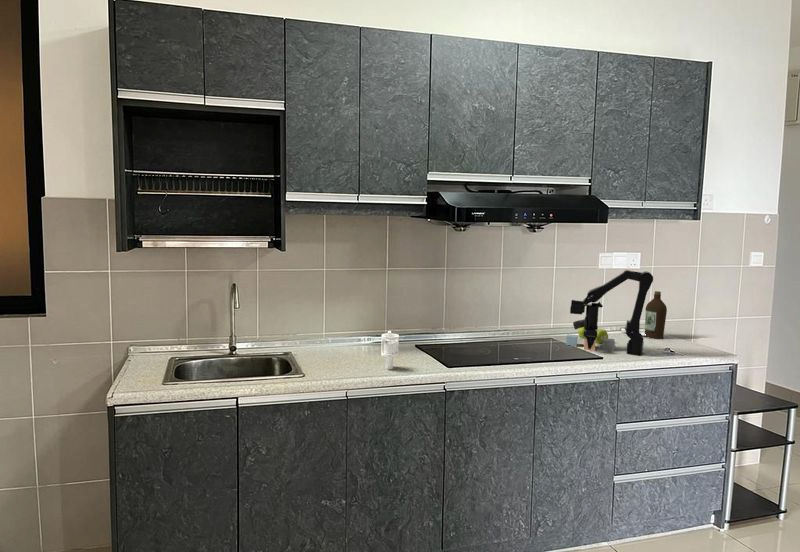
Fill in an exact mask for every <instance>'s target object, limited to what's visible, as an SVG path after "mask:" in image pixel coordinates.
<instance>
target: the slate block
mask: <svg viewBox="0 0 800 552" xmlns="http://www.w3.org/2000/svg"><path fill="white" fill-rule="evenodd" d="M578 336H579V334H570V333H569V334H568V333H567V334H566V339H565V340H566V341H565V346H566V345H572V346H571V347H573V346H576V347H575V348H577V346H578Z"/></svg>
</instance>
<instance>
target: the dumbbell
mask: <svg viewBox="0 0 800 552" xmlns="http://www.w3.org/2000/svg"><path fill="white" fill-rule="evenodd" d="M584 330H585V328H584V327H582V328H578V329H577V334H578V336H579V337H580V339H585V338H586V337H585V336H584ZM604 338H608V339H609V334H608V332H607V330H606V329H602V328H601V329H598V330H597V338H596V340H595V344H598V345H601V344H602V345H603V341H604Z"/></svg>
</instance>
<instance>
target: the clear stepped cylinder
mask: <svg viewBox="0 0 800 552" xmlns="http://www.w3.org/2000/svg"><path fill="white" fill-rule="evenodd" d="M399 336H400V335H399V334H398V333H392V331H391V330H388V331H387V333H382V334H381V340H380V343H381V344H380V347H381V348H380V351H381V352H380V355H381V357H385V369H387V370H392V369H394V358H396V357H398V356H399V343H400V341H399V340H400V339H399V338H400V337H399Z"/></svg>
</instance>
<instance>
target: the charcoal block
mask: <svg viewBox="0 0 800 552" xmlns="http://www.w3.org/2000/svg"><path fill="white" fill-rule="evenodd" d="M602 350H603V351H607V350H608V351H609V352H615V339H614V338H609V337H608V338H604V341H603V344H602Z"/></svg>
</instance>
